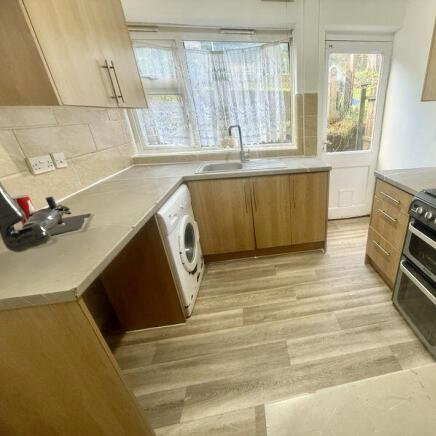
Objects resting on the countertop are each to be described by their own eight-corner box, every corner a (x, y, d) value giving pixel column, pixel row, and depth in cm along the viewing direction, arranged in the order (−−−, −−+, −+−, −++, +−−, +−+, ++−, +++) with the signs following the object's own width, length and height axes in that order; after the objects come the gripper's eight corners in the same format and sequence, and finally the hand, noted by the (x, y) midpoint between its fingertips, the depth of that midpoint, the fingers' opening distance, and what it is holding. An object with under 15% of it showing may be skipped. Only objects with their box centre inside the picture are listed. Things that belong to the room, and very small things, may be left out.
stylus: (57, 226, 106) (44, 198, 101) (58, 225, 108) (46, 197, 103) (64, 225, 107) (52, 197, 102) (65, 223, 109) (53, 196, 104)
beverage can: (22, 228, 114) (4, 198, 107) (39, 222, 119) (23, 193, 113) (29, 230, 111) (11, 199, 105) (46, 224, 117) (30, 194, 110)
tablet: (39, 239, 103) (38, 237, 102) (54, 221, 120) (53, 219, 120) (83, 230, 109) (83, 228, 109) (91, 214, 127) (90, 213, 127)
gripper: (63, 208, 95) (73, 196, 109) (14, 215, 88) (31, 202, 102) (70, 225, 98) (79, 212, 112) (23, 234, 91) (39, 218, 105)
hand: (56, 207), depth 107 cm, fingers closed on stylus, 2 cm apart
